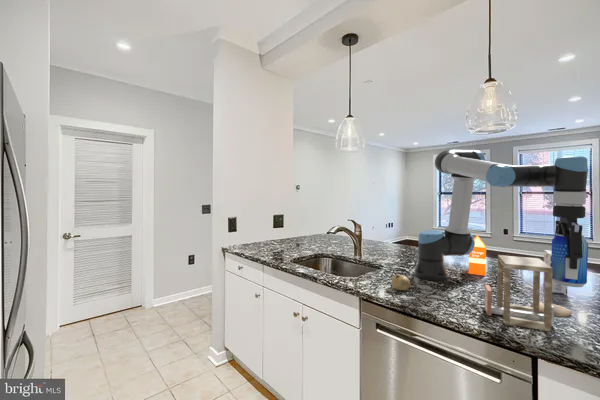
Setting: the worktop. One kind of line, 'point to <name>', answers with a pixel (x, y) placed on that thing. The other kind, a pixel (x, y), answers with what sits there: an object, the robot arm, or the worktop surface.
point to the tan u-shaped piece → (513, 312)
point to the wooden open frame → (536, 267)
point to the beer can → (560, 262)
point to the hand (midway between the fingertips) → (565, 274)
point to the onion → (400, 282)
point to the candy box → (555, 287)
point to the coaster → (555, 310)
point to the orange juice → (478, 258)
